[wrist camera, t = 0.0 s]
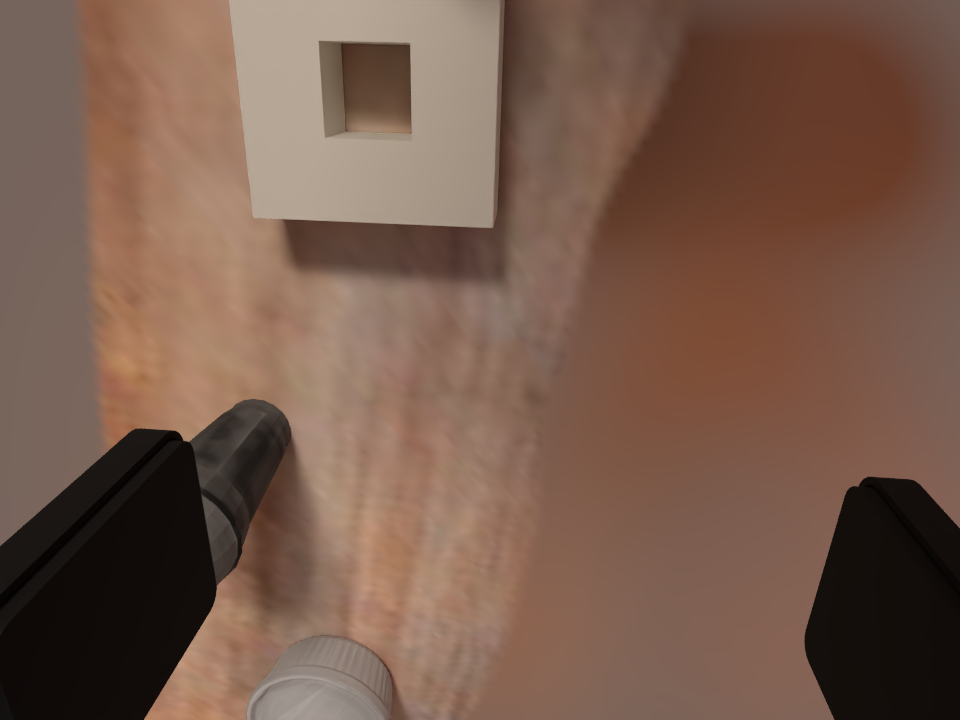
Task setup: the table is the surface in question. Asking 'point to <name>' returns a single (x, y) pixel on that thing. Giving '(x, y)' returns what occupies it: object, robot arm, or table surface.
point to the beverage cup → (237, 473)
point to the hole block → (371, 155)
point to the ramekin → (324, 683)
